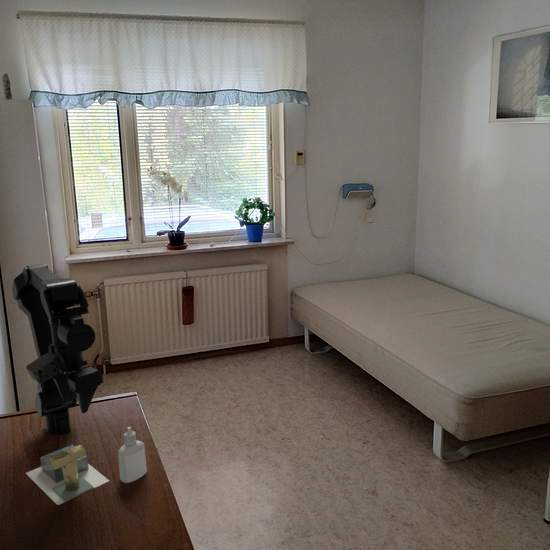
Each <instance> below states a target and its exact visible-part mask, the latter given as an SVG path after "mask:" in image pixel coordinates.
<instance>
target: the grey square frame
mask: <svg viewBox="0 0 550 550" xmlns="http://www.w3.org/2000/svg"><path fill="white" fill-rule="evenodd" d="M73 447H76V445H73V444H70V445H68V446H65V447H62V448H59V449H57V450H55V451H52V452H50V453H48V454H44V455H42V456H41V457H39V459H40V467H41V468H42V471H43V472H44V473H46V474H47V475H48V476H49V477H50V478H51V479H52V480H53V481H54V482H55V483H58V482H60V481H62V480H64V477H63V471H62V467H60V468H58V469H54V468H53V467H52V466H51V463H50V457H52V456H54V455H57V454H59V453H61V452H64V451H66V450H69V449H71V448H73ZM76 462H77V469H78V473H81V472H83V471H85V470H87V469H89V467H88V464H89V461H88V455H86V456H85V457H82V458H80V459H78V460H76Z"/></svg>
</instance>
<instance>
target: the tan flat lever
mask: <svg viewBox="0 0 550 550" xmlns="http://www.w3.org/2000/svg"><path fill="white" fill-rule="evenodd" d="M85 456H87V453H86V447H84V446H83V444H78V445H75V447H73V448H71V449H69V450H66V451H64V452H61V453H59V454H57V455H54V456H52V457H50V463H51V466H52V467H53V468H54V469H58V468H60V467H62V471H63V477H64V484H65V490H66V491H74V490H76V489H78V488H79V487H80V483H79V476H78V469H77V462H76V460H78V459H80V458H82V457H85Z"/></svg>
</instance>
